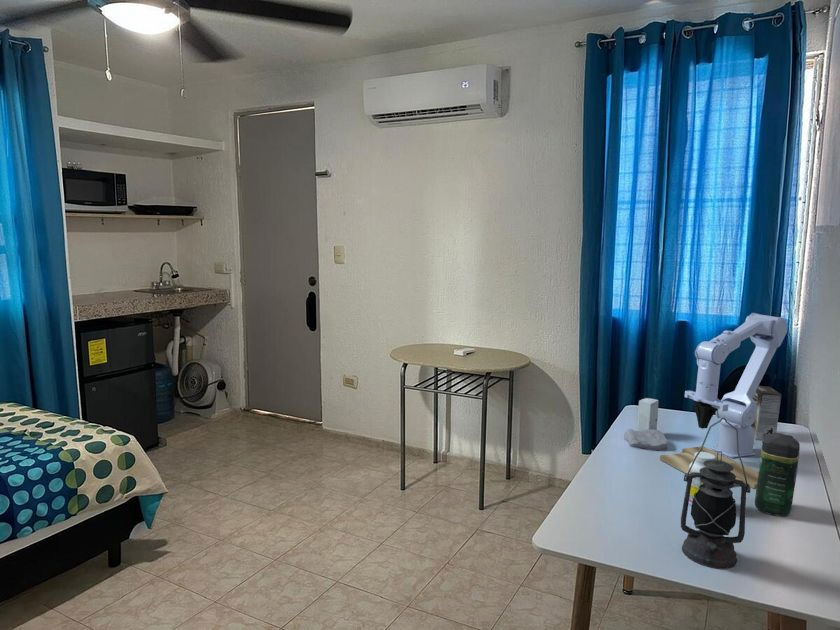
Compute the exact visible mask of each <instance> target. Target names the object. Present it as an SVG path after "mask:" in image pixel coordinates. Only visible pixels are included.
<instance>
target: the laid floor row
mask: <svg viewBox="0 0 840 630" xmlns="http://www.w3.org/2000/svg"><path fill="white" fill-rule="evenodd" d="M701 446H702V445H700V446H694V447H693V446H692V447H687V448H686V447H685V448H682V451H681V453H689V454H691V455H693V456H694V454H695V453H696V452H699V450H700V449H701ZM701 452H707V453H710V454H713V455H714V456H715V460H717V452H718V451H715V450H713V449H711V448H708V447H706V446H705V445H704V446H703V448H702V450H701ZM718 460H719V461H720V460H721V453H720V452H718ZM721 461H724V462H726V463H728V464H730V465H732V466H733V468H734V469H733V471H730V472H732V473H733V474H735V476H736V477H737V478H739V479H741V480H742V481H743V482H744V483H745V484H746V481H745V477H744V473H743V468H742V464H741V462H738V461H736V460H735V459H733V458H731V457H728V456H726V455H724V454H722V460H721ZM743 466H744V470H745V474H746V478H747V483H748V484H749V485H750V487H751V488H752V489H754V488H755V489H757V482H758V474H759V471H757V470H755V469H752V468H751V467H749V466H746V465H744V464H743Z"/></svg>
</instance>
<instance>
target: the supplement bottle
mask: <svg viewBox="0 0 840 630" xmlns="http://www.w3.org/2000/svg"><path fill="white" fill-rule="evenodd" d="M697 453H698V452H696V453H695V454H694V458H695V456H696V455H697ZM707 460H715V456H714V455H713V454H710V453H707V452H700V453H699V455H698V456H697V458H696V460H695V462H694V464H693V466H692V468H691V470H690V472H689V474H690V473H692V472H697V473H700V472H699V470H700V469H701V468H703V467H706V466H704V464H703V463H704V461H707ZM692 463H693V462H692ZM692 463H691V464H690V465H689V469H690V467H691V465H692ZM701 484H703V483H702V482H701V481H700V477H696V478H693V479H692V484H691V490H690V497H689V504H688V505H690V506H692V502H693V498H694V493H697V492H698V490H699V489H700V488H699V486H700V485H701ZM695 495H696V494H695Z"/></svg>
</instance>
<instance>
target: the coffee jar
mask: <svg viewBox="0 0 840 630" xmlns="http://www.w3.org/2000/svg"><path fill="white" fill-rule="evenodd" d="M800 450H801V449H800V442H799V441H798V440H797V439H795V437H794V436H793V435H789V434H784V433H781V432H776V433H773V434H769V435H767V436H766V437H765V438H764V439H763V440H762V445H761V452H760V458H759V459H760V460H759V465H758V467H759V468H758V472H759V474H758V482H757V488H755V490H756V491H755V497H754V498H755V499H754V506H755V508H756V509H758V510H760V511H761V512H764V513H766V514H768V515H771V516H780V517H781V516H783V517H787V516H789V515H790V513H791V511H792V507H793V501H794V493H795V488H796V487H795V486H796V482H797V481H796V480H797V474H798V468H799V458H800Z"/></svg>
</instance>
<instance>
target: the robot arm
mask: <svg viewBox="0 0 840 630" xmlns="http://www.w3.org/2000/svg"><path fill="white" fill-rule="evenodd" d="M787 333H788V323H787V321H786V319H785V318H784V317H782V316H772V315H765V314H760V313H756V312H751V313H750V314H749V315H747V316H746V318H745V321H744V322H743V323H742V324H741V325H739V326H738V327H737V328H735V329H734V330H733V331H732V330H726V329H725V330H724V331H722V333H720V334H719V335H717V336H716V337H713V338H712V339H710V340H709V341H707V340H706V341H705V340H704V341H702V342H700V343H698V345H697V346H696V348H695V350H694V356H695V358H696V364H697V365H696V366H698V368H697V376H696V377H697V378H696V388H695V391H693V390H685V391H684V398H686V399H691V400H693V401H695V402H692V404H691V406H692V407H693V410H694V413H695V414H696V415H695V416H696V420H697V424H698V425H697V426H698V428H700V429H703V430H704V429H708V428H709V427H708V426H709V424H710V422H711V421H712V418H713V416H714V415H715V416H716V418H717V419H718V421H719V420H720V419H721V418H725V419H726V420H727V422H729V423H730V424H731V425H732V426H734V427H735V428H736V429H737V430H738V448H739V454H740V457H741V458H742V457H747V456H748V457H749V456H755V455H756V454H755V452H754V451H753V450H754V444H755V443H754V442H755V438H754V430H753V428H752V427H751V425H752V424H753V423H754V421H755V416H756V412H757V409H758V407H757V405H756V403H755V402H754V400H753V399H752V398H753V396H754V394H755V392H756V390H757V388H758V386H760V383H761V381H762V380H763V377H764V375H765V374H766V371H767V369H768V367H769V365H770V363H771V361H772V359H773V357H774V356H775V353H776V351H777V349H778V348H780V346H781V345H782V344H783V341H784V340H785V336H786V335H787ZM748 338H750V341H751V342H752V343H753V344H754V345H755V348H754V350H753V352H752V354H751V355H750V358H749V360H748V363H747V364H746V366H745V369H744V370H743V373H742V375H741V377H740V379H739V381H738V383H737V385H736V386H735V389H734V390H733V391H731V392H727V393H725V394H724V395H723V397H722V398H721V399H719V398H718V393H719V392H718V391H719V384H720V383H719V382H720V375H721V374H720V373H721V366H722V365H721V364H723V363H724V362H725V360H726V359H727V357H728V356H729V354H730V353H732V352H734V351H735V350H736V349H738V348H740V346H741V342H742V341H744V340H746V339H748ZM718 434H719V436H718V444H717V446H710V447H711V448H710V450H713V451H715V452H718V451H722V455H723V456H725V457H727V458H730V459H733V458H739V456H738V453H737V436H736V430H735V429H734V428H733V427H731V426H730V425H729V424H728V423H726V422H725V420H724V419H722V420H721V422H720V426H719V433H718ZM719 454H721V452H719Z"/></svg>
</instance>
